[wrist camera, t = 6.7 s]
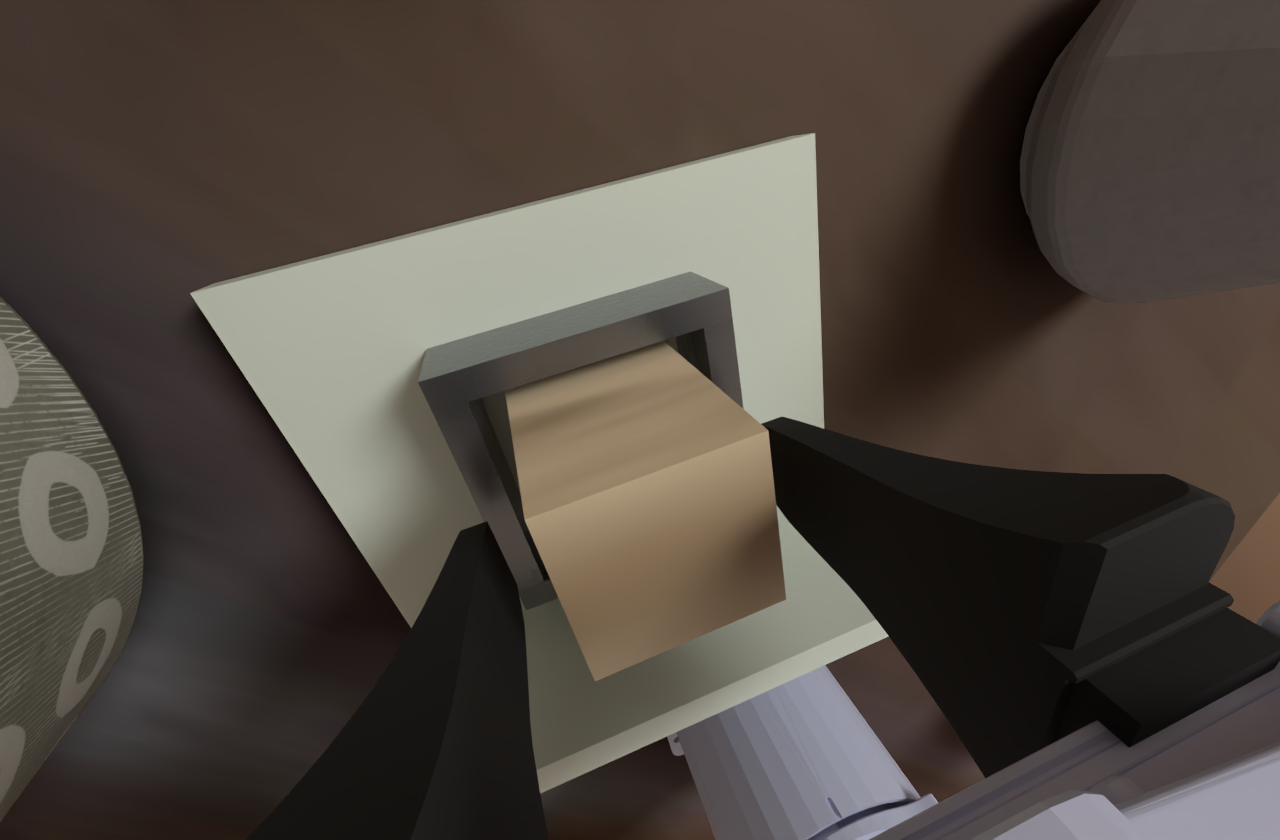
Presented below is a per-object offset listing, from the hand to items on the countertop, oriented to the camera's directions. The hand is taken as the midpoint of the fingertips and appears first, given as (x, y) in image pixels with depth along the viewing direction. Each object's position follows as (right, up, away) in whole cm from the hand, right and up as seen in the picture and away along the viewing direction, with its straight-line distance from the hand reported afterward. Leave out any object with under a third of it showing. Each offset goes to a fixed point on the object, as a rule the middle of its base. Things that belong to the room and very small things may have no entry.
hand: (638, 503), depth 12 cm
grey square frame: (-1, +1, +4) cm, 4 cm away
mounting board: (-2, +2, +5) cm, 6 cm away
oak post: (-1, +2, +4) cm, 4 cm away
